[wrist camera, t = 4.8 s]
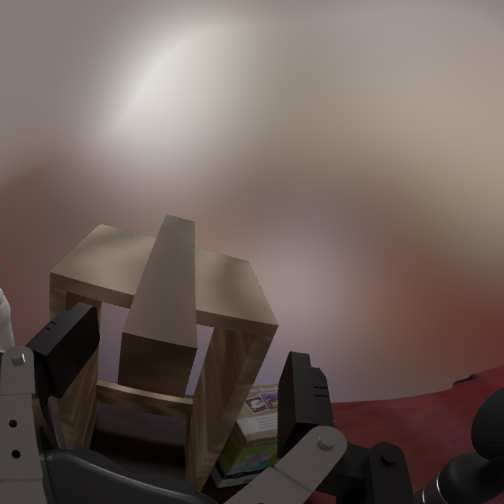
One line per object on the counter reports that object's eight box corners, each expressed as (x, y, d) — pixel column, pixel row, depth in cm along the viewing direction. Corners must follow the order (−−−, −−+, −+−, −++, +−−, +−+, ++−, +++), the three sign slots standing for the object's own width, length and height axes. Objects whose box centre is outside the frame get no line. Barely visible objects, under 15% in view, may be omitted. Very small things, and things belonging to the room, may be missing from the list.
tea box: (217, 491, 34) (246, 442, 30) (195, 443, 42) (216, 385, 38) (297, 471, 41) (338, 419, 37) (271, 431, 49) (302, 377, 46)
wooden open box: (192, 428, 45) (248, 261, 36) (197, 496, 32) (278, 325, 23) (89, 408, 40) (100, 224, 31) (74, 474, 27) (50, 271, 18)
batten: (187, 248, 33) (194, 221, 32) (183, 398, 13) (197, 348, 12) (159, 242, 32) (166, 214, 32) (117, 384, 12) (122, 331, 11)
